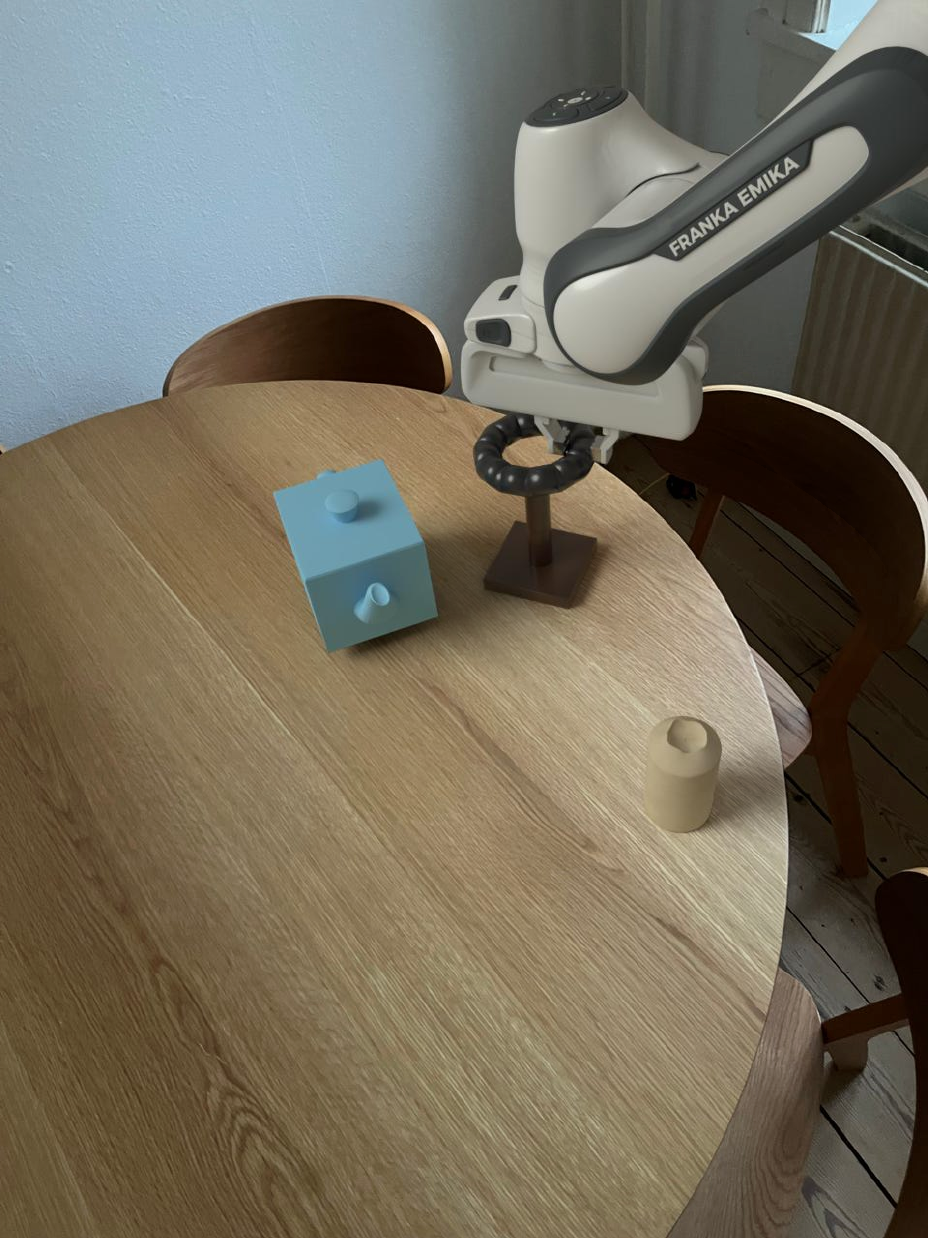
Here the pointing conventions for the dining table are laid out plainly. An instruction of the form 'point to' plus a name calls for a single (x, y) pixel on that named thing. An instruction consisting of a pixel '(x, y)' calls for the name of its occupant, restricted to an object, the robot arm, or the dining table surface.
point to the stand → (540, 559)
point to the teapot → (357, 554)
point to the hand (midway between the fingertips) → (580, 454)
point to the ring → (538, 477)
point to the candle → (681, 773)
